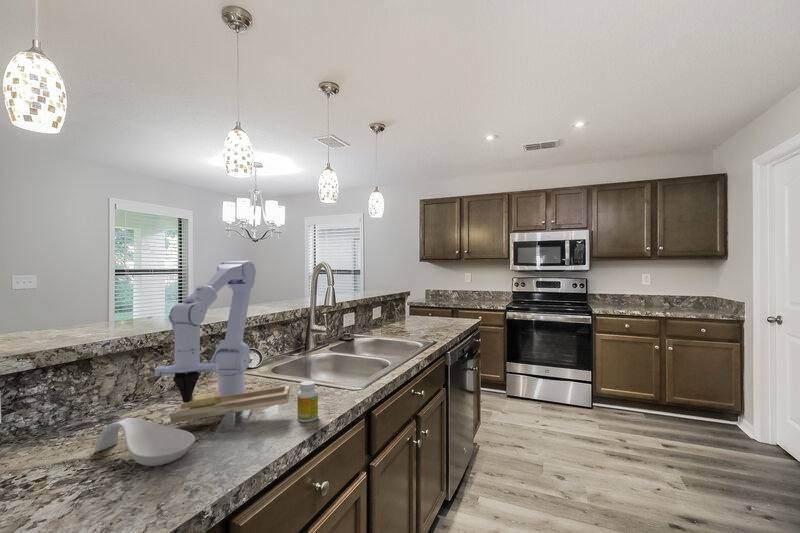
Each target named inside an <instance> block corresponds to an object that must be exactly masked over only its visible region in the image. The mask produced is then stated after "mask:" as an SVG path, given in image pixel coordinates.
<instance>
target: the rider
mask: <svg viewBox="0 0 800 533" xmlns="http://www.w3.org/2000/svg"><path fill="white" fill-rule="evenodd" d="M220 403H221V398H220V391H218V390H217V391H212V392H206V393H200V394H199V393H198V394H195V395H194V396H192V399H191V400H190V401H189V406H190V409H193V408H199V407H205V406H211V405H217V404H220Z"/></svg>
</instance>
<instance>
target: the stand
mask: <svg viewBox="0 0 800 533" xmlns="http://www.w3.org/2000/svg"><path fill="white" fill-rule="evenodd" d="M251 414H252V409H250V410H244V411H239V412H235V411H227V412H226V413H225V414H224V417H223V419H222V420H221V421H220V423H219V425H218V426H217V427H216V429H215V432H216V434H220V433H230V432H233V433H234V432H241V431H243V429H244V428H245V426H246V424H247V421H248V419H249V418H250V416H251Z"/></svg>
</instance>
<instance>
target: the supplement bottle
mask: <svg viewBox="0 0 800 533" xmlns="http://www.w3.org/2000/svg"><path fill="white" fill-rule="evenodd" d="M318 392H319V391H318V390H317V389H316V382H315V381H313V380H304V381H301V382H300V383H299V391H298V392H297V395H296V396H297V420H298V421H299V422H301V423H308V422H309V423H310V422H314V421H315V420H317V419H318V417H319V393H318Z"/></svg>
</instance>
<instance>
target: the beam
mask: <svg viewBox="0 0 800 533" xmlns="http://www.w3.org/2000/svg"><path fill="white" fill-rule="evenodd" d="M290 395H291V387H290V384H287V385H282V386H281V385H280V386H274V387H270V388H269V387H267V388H263V389H257V390H249V391H245V392H243V393H237V394H231V395H225V396H220V398H221V403H220V404H217V405H211V406H205V407H199V408H193V409H190V406H189V402H188V403H183V401H182V402H181V403H180V408H179V410H176V411H175V410H174V411H171V412H170V413H169V418H170V424H174V423H180V422H185V421H192V420H197V419H203V418H207V417H209V418H210V417H215V416H220V415H225V413H226V412H227V411H235V412H239V411H244V410H250V409H251V410H256V409H261V408H266V407H267V408H268V407H272V406H279V405H284V404H288V403H289V399H290Z"/></svg>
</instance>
